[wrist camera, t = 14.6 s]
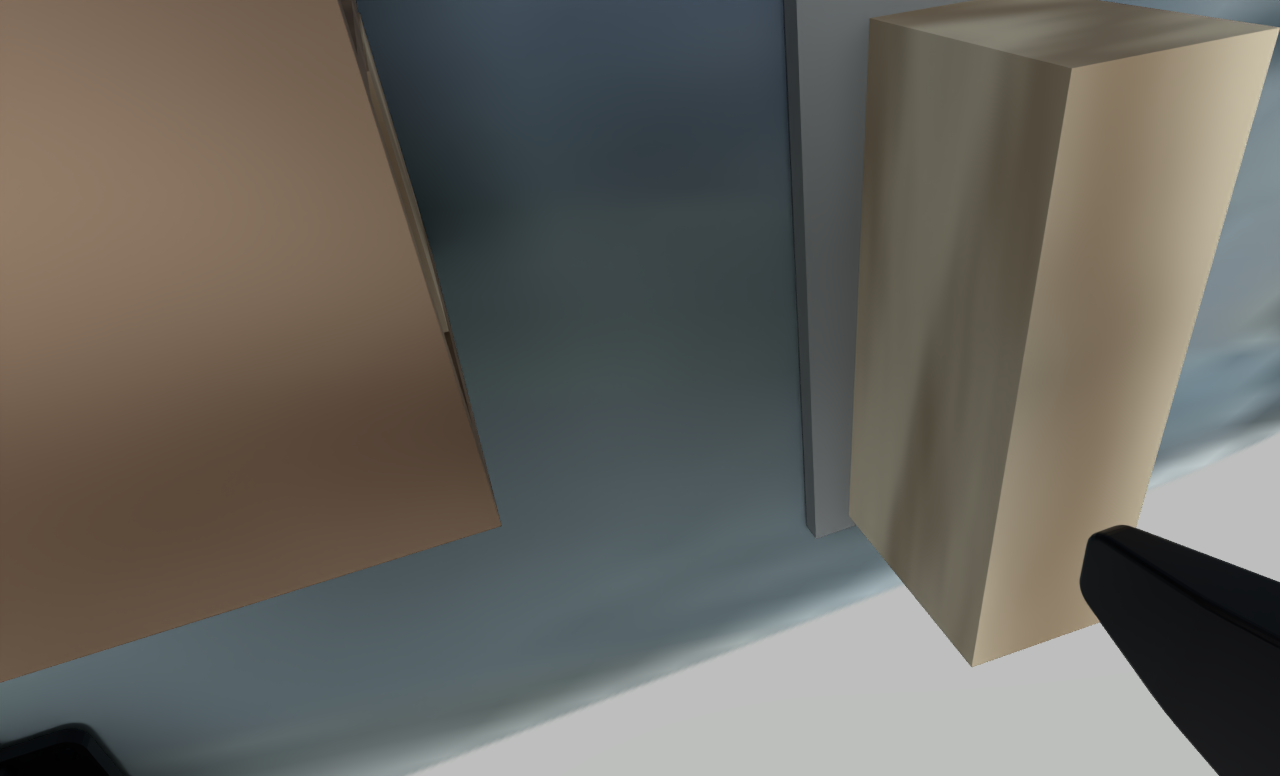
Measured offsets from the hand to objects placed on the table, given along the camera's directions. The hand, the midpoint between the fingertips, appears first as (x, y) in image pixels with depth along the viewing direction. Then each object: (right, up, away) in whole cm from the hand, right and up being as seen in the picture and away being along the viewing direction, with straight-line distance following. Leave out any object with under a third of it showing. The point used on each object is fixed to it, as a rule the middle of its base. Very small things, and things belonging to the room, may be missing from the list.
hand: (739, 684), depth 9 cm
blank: (+6, +6, +13) cm, 15 cm away
